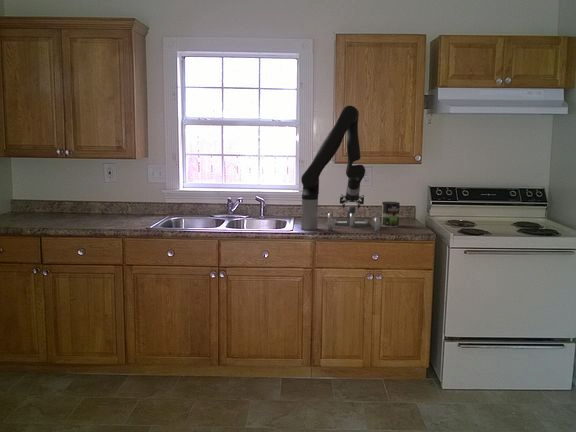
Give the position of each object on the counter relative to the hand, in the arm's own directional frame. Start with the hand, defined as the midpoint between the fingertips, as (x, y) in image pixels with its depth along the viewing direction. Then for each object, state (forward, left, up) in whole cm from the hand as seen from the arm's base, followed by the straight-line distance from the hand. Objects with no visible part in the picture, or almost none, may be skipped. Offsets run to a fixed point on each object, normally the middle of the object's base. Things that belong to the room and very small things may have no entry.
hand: (350, 207), depth 330 cm
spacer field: (0, -16, -11) cm, 19 cm away
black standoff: (0, +3, -10) cm, 11 cm away
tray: (0, +3, -11) cm, 11 cm away
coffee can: (+23, -3, -11) cm, 26 cm away
